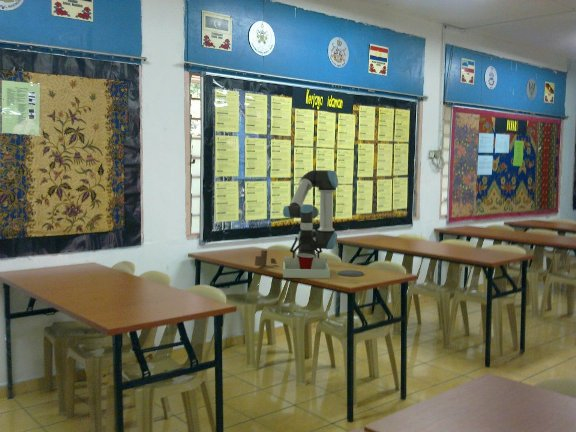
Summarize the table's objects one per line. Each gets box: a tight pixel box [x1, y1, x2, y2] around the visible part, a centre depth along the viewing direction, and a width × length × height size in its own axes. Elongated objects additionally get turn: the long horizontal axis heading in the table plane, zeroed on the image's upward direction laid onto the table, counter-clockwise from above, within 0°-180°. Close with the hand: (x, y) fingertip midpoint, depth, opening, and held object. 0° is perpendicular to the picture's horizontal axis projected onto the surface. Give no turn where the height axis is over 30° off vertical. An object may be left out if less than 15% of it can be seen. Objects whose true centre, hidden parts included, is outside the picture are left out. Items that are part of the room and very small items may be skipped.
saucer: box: [337, 269, 365, 278], centre depth 375 cm, size 16×16×1 cm
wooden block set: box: [254, 249, 278, 267], centre depth 399 cm, size 18×9×10 cm, turn 145°
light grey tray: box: [282, 256, 331, 279], centre depth 375 cm, size 28×28×8 cm
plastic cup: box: [296, 253, 315, 269], centre depth 375 cm, size 11×11×12 cm
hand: (305, 263), depth 375 cm, fingers open, 13 cm apart
